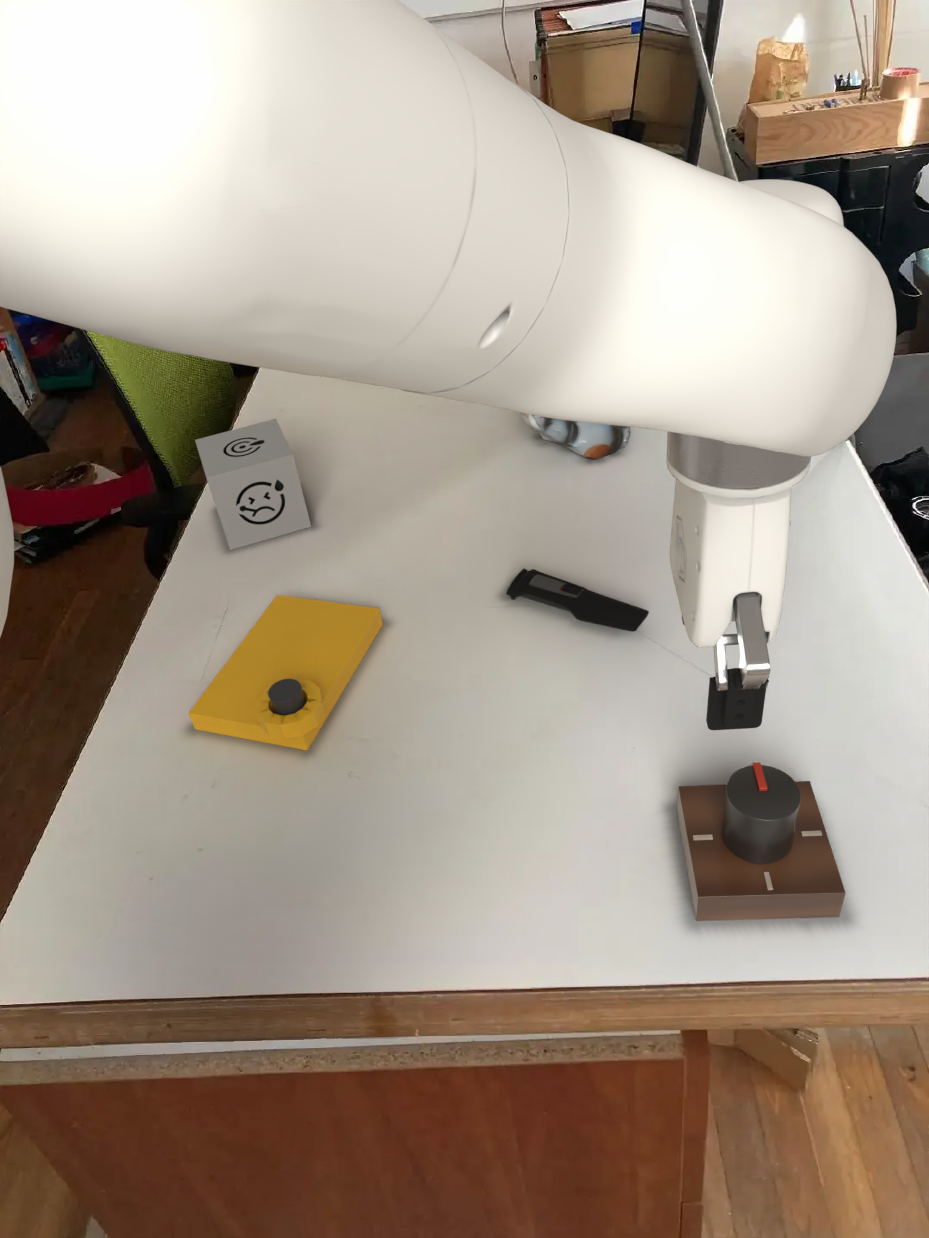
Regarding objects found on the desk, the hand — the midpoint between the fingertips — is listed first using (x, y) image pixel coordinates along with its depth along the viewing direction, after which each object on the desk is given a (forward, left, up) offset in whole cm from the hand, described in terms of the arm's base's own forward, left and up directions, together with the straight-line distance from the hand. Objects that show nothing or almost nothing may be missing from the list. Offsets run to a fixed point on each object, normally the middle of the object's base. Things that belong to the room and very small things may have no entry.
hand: (718, 671), depth 60 cm
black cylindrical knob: (+3, +37, -15) cm, 40 cm away
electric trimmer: (+26, +16, -18) cm, 35 cm away
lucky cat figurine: (+60, +24, -18) cm, 67 cm away
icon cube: (+36, +58, -18) cm, 71 cm away
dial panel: (-1, -4, -18) cm, 19 cm away
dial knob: (-1, -4, -15) cm, 16 cm away
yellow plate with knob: (+10, +41, -18) cm, 46 cm away
